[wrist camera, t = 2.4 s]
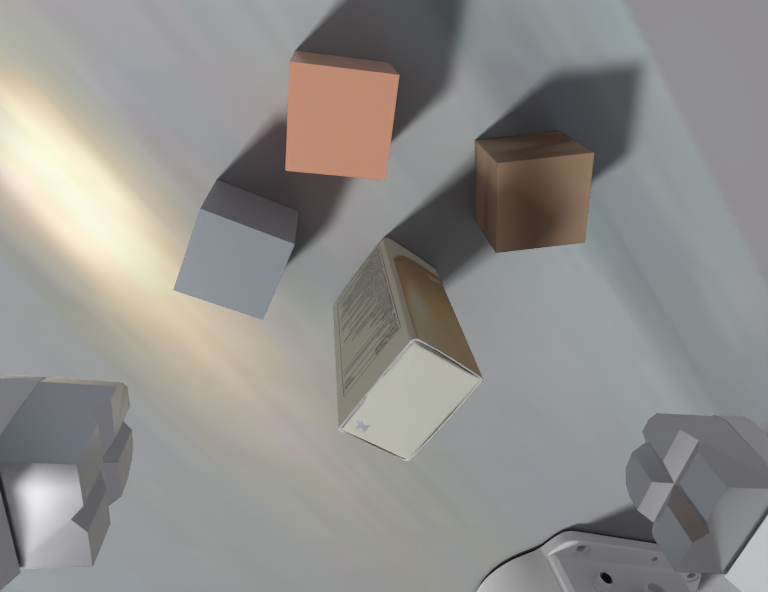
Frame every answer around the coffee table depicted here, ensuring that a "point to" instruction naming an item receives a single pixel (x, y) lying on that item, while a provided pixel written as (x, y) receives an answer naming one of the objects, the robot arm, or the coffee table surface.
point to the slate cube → (238, 250)
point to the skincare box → (399, 353)
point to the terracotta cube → (340, 115)
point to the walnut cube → (532, 190)
